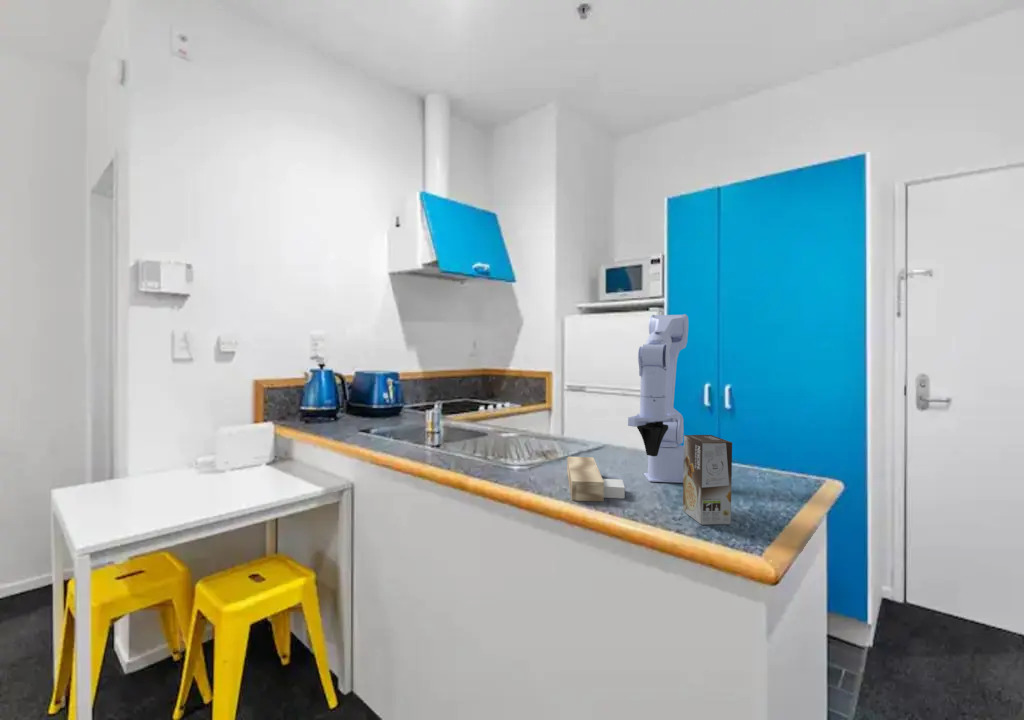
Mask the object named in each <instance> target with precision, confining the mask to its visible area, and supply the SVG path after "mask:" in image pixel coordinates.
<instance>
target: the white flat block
mask: <svg viewBox="0 0 1024 720" xmlns="http://www.w3.org/2000/svg"><path fill="white" fill-rule="evenodd" d="M602 479H603V481H604V498H605V499H607V498H609V499H625V497H626V495H625V491H626V490H625V489H626V487H625V485H624V481H623V479H615V478H602Z"/></svg>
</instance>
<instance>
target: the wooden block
mask: <svg viewBox="0 0 1024 720" xmlns="http://www.w3.org/2000/svg"><path fill="white" fill-rule="evenodd" d="M566 460H567V463H566V464H567V465H566V466H567V469H566V473H567V481H568V485H569V493H570V497H571V501H576V502H580V501H581V502H602V503H603V502H605V501H604V500H605V499H604V481H603V479H604V478H603V477H602V475H601V472H600V469H599V468H598V466H597V463H596V461H595V457H591V456H589V457H588V456H586V457H585V456H567V459H566Z"/></svg>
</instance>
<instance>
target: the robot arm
mask: <svg viewBox="0 0 1024 720" xmlns="http://www.w3.org/2000/svg"><path fill="white" fill-rule="evenodd" d="M648 334H649V335H648V337H647V340H646V341H645V342H646V343H645V344H643V345H642V346H639V348H638V352H637V361H638V362H637V363H638V372H639V373H638V374H639V377H640V387H639V388H640V391H639V392H640V394H639V397H640V400H639V404H640V405H639V413H636V415H634V416H629V417H627V426H628V427H632V428H633V427H634V428H637V430H638V431H639V434H640V437H641V438H642V441H643V445H644V449H645V453H646V456H647V472H644V473H643V476H645V478H646V479H647V480H648V482H651V483H676V484H677V483H678V484H679V483H681V484H683V468H684V445H682V444H683V443H684V433H685V431H684V430H685V429H684V417H683V415H682V413H680V412H679V411H678V410H677V409H675V407H674V402H675V389H676V388H675V387H676V377H677V375H676V374H677V363H678V357H679V354H680V352H681V350H683V349H685V348H686V347H687V344H688V336H689V316H688V315H687V314H686V313H684V314H658V315H657V314H652V315H651V316H650V317H649V319H648Z"/></svg>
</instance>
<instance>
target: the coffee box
mask: <svg viewBox="0 0 1024 720" xmlns="http://www.w3.org/2000/svg"><path fill="white" fill-rule="evenodd" d="M683 446H684V468H683V483H682V484H683V485H682V512H684V513H685V514H687V515H688V516H689V517H690V518H692V519H694V520H695V521H696V522H697V523H699V525H703V526H704V525H710V526H711V525H731V523H732V518H731V517H732V486H733V485H732V480H733V479H732V477H733V475H732V473H733V472H732V471H733V470H732V469H733V442H732V441H729V440H727V439H724V438H722V437H721V438H720V437H718V436H714V435H713V434H683Z"/></svg>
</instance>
